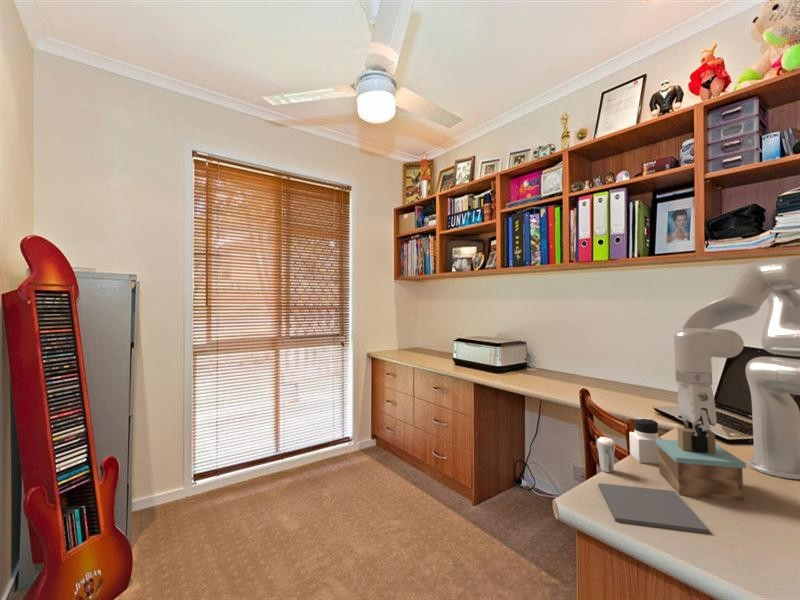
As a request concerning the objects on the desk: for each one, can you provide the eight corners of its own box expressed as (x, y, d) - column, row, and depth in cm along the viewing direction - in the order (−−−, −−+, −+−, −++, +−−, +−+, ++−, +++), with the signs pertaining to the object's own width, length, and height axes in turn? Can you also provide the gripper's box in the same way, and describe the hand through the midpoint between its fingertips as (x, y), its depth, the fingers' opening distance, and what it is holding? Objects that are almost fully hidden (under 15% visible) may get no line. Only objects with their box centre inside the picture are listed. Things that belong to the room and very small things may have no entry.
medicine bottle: (666, 464, 110) (664, 423, 110) (639, 463, 111) (637, 422, 112) (654, 455, 117) (653, 416, 117) (629, 454, 118) (628, 416, 119)
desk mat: (674, 494, 92) (674, 491, 92) (709, 533, 76) (708, 529, 76) (598, 486, 97) (598, 483, 97) (615, 521, 81) (615, 517, 81)
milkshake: (591, 467, 109) (590, 433, 109) (609, 466, 109) (608, 432, 109) (601, 474, 104) (600, 438, 105) (619, 473, 105) (618, 437, 105)
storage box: (715, 478, 101) (713, 448, 101) (743, 501, 88) (742, 467, 89) (659, 472, 105) (658, 443, 105) (679, 494, 92) (677, 461, 92)
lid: (715, 450, 101) (714, 424, 102) (746, 471, 88) (744, 441, 88) (655, 446, 105) (654, 421, 106) (676, 465, 92) (675, 437, 92)
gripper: (728, 384, 88) (731, 463, 88) (695, 373, 104) (698, 439, 103) (690, 383, 91) (694, 459, 90) (664, 372, 106) (667, 437, 106)
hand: (696, 448), depth 97 cm, fingers closed on lid, 3 cm apart
